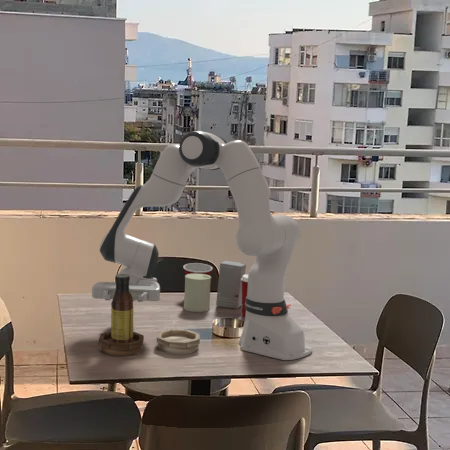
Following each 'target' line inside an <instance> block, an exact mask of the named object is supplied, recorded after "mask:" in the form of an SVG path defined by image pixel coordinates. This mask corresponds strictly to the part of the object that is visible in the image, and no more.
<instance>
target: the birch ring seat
mask: <svg viewBox="0 0 450 450" xmlns="http://www.w3.org/2000/svg"><path fill="white" fill-rule="evenodd" d="M200 337H201V336H200V333H199V332H196V331H193V330H189V329H184V328H183V329H182V328H181V329H180V328H170V329H163V330H162V331H161V330H160V331H158V332H157V335H156V343H157V349H158V350H159V351H160V352H161V351H162V352H164V353H167V354H173V355H185V354H191V353H195V352H197V351H198V350H199V345H200V344H201V342H200V341H201V340H200Z"/></svg>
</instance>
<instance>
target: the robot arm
mask: <svg viewBox="0 0 450 450" xmlns="http://www.w3.org/2000/svg"><path fill="white" fill-rule="evenodd" d="M195 169H199V170H209V171H217V170H221V172H222V174H223V176H224V178H225V181H226V183H227V186H228V188H229V191H230V194H231V196H232V198H233V201H234V203H235V207H236V210H237V216H238V218H237V219H238V229H237V231H236V236H235V237H236V238H235V240H236V244H237V247H238V249H239V250H240V251H241V253H243V254H244V255H247V256H252V257H255V260H254V261H253V264H252V266H251V267H250V269H249V271H248V273H247V274H248V289H247V297H246V300H245V310H246V314H245V317H244V321H243V327H242V332H241V335H240V337H239V340H238V343H239V345H240V351H241V350H242V351H244V352H249V353H254V354H257V355H262V356H265V357H270V358H273V359H278V360H281V361H292V360H298V359H302V358H304V357H307V356H309V355H311V353H312V352H313V347H311V346H309V345H308V344H306V341H305V339H306V338H305V333H304V330H303V329H302V327H300V326H299V324H298V323H297V322H296V321H295V320H294V318H292V316H291V315H290V314H289V309H291V308H292V307H291V306H292V304H287V303H286V300H285V288H286V286H285V285H286V275H287V272H288V268H289V264H290V260H291V257H292V253H293V250H294V248H295V246H296V244H297V243H298V241H299V239H300V237H301V228H300V225H299V223H298V222H297V220H296V219H294V217H292V216H288V215H285V214H284V215H283V214H275V215H272V212H271V208H270V198H271V194H272V192H271V189H270V186H269V183H268V181H267V179H266V177H265V174H264V173H263V170H262V168H261V165H260V163H259V160H258V159H257V157H256V156H255V154H254V152H253V150H252V149H251V147H250V146H249V145H248V144H247V143H246V141H244V140H240V139H239V140H238V139H236V140H235V139H234V140H231V141H228V142H227V141H226V140H225V138H223V137H221V136H217V135H215V134H213V133H211V132H208V131H207V132H206V131H201V130H193V131H190V132H188V133H187V132H186V134H185V135H183V137H182V138H181V139H180V141H179V144H175V143H172V144H168V145H167V146H166V147H165V148H164V149H163V150H162V152H161V154H160V156H159V158H158V159H157V162H156V164H155V166H154V168H153V171H152V173H151V175H150V178H149V179H148V180H147V181H146V182H145V183H144V184H142V185H137V186H136V187H135V188H134V189H133V191H132V192H131V193H130V195H129V197H128V199H127V200H126V202H125V203H124V205H123V207H122V209H121V211H120V212H119V214H118V215H117V217H116V218H115V219H116V220H115V221H114V223H113V225H112V226H111V228H110V229H109V230H108V232H107V233H106V234H105V235H104V237H103V238H102V240H101V242H100V244H99V252H100V255H101V257H102V258H103V259H104V260H105V261H107V262H111V263H114V264H118V265H121V266H124V267H123V268H122V269H121V270H120V271H119V273H118V274H128V275H129V276H130V280H129V292H130V294H131V295H132V298H133V302H134V301H135V302H136V301H137V302H138V303H144V302H146V301H147V302H159V301H160V298H161V286H160V283H158V279H157V278H156V277H152V276H153V274H154V271H155V270H156V267H157V263H158V260H159V250H158V247H157V245H156V244H154V243H152V242H150V241H146V240H145V239H141V238H138V237H135V236H133V235H129V234H127V233H125V229H126V228H127V226H128V225H129V223H130V221H131V219H132V218H133V216H134V214H135V213H136V212H137V211H138V210H140V209H142V208H149V207H150V208H152V207H160V208H161V207H168V206H171V205H173V204H176V203H177V202H178V201H180V198H181V197H182V195H183V192H184V190H185V189H186V185H187V183H188V179H189V177H190V176H191V173H192V172H193V171H194V170H195ZM115 291H116V280H115V281H99V282H98V281H97V282H95V283H94V284H93V285H92V287H91V297H92V298H93V299H101V300H104V301H111V300H113V297H114V294H115Z"/></svg>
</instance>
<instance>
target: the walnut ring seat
mask: <svg viewBox="0 0 450 450" xmlns="http://www.w3.org/2000/svg"><path fill="white" fill-rule="evenodd" d="M144 337H145V336H144V335H143V334H141V333H138V332H135V331H133V341H132V342H130V343H113V342H112V337H111V331H107V332H103V333H101V334H100V335H99V337H98V345H99V351H100V352H101V353H102V354H105V355H106V356H107V355H108V356H112V357H113V356H114V357H129V356H135V355H138V354H140V353H141V352H143V346H144V345H143V344H144V341H145V340H144V339H145V338H144Z"/></svg>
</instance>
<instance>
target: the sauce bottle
mask: <svg viewBox="0 0 450 450" xmlns="http://www.w3.org/2000/svg"><path fill="white" fill-rule="evenodd" d="M114 279H115V281H116V291H115V294H114V297H113V299H111V300H112V301H111V303H110V304H111V307H110V308H111V309H110V310H111V312H110V313H111V315H110V317H111V318H110V319H111V320H110V322H111V323H110V324H111V327H110V328H111V329H110V332H111V337H112V342H113V343H130V342H132V341H133V332H134V301H133V298H132V295H131V294H130V292H129V280H130V276H129V275H128V274H119V273H117V274H116V275H115V278H114Z"/></svg>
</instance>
